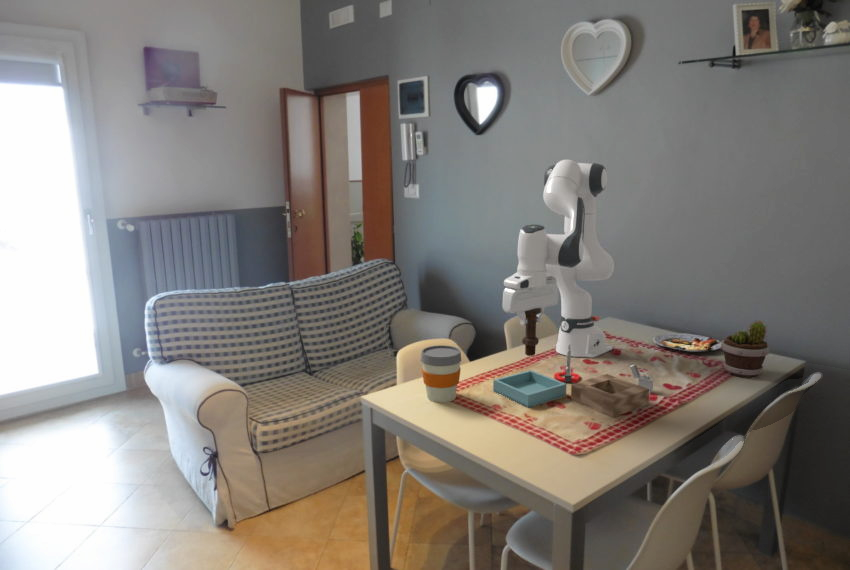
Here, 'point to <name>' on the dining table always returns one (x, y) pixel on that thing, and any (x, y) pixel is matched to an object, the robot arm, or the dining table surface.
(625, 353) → the dining table surface
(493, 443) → the dining table surface
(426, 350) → the reusable coffee cup
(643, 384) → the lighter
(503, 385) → the tray
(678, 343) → the food plate
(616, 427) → the dining table surface
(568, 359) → the red valve handwheel
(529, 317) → the bolt
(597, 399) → the socket block
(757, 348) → the flowerpot
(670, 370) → the dining table surface
